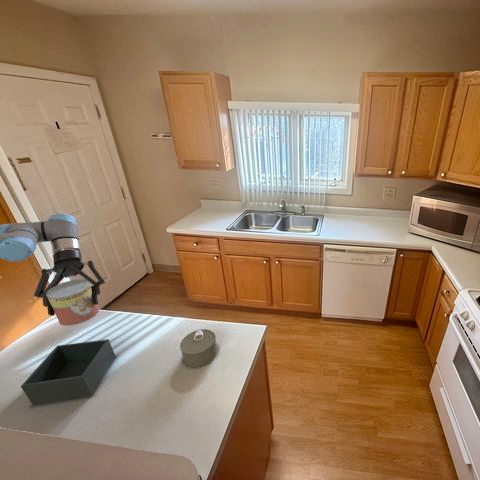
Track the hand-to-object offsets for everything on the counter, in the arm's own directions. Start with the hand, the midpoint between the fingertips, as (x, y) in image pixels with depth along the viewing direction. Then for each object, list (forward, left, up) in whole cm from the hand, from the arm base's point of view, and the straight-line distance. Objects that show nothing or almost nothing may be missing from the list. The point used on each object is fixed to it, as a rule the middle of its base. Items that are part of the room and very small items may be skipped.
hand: (74, 309), depth 90 cm
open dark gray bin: (+3, -14, -19) cm, 24 cm away
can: (+41, -11, -19) cm, 46 cm away
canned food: (-1, +3, -5) cm, 6 cm away
